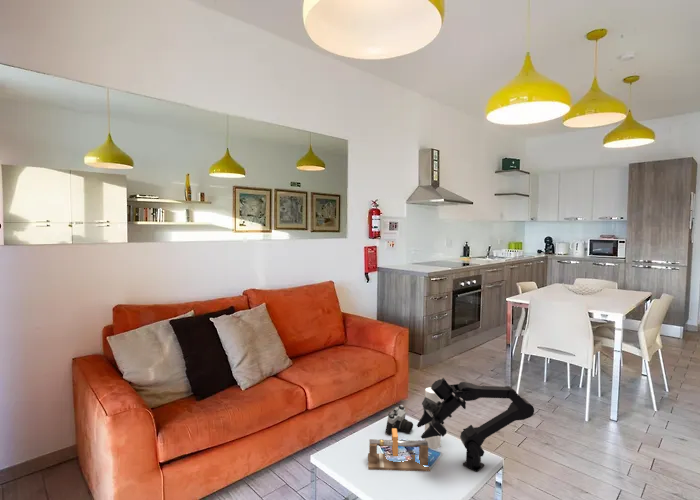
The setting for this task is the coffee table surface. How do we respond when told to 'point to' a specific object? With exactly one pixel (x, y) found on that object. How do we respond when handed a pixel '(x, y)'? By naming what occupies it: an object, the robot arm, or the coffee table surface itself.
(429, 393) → the cylindrical container
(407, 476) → the coffee table surface
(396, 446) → the collar
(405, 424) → the camera
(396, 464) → the stand
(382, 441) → the pipe
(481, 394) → the robot arm
